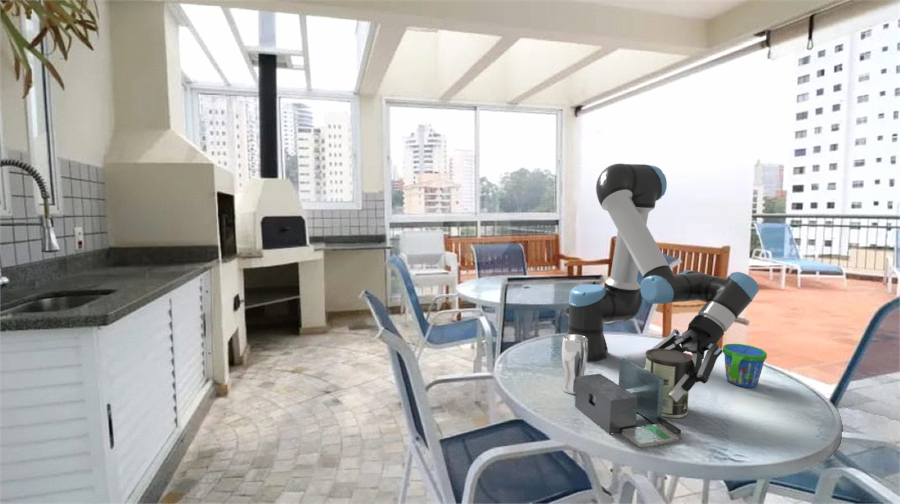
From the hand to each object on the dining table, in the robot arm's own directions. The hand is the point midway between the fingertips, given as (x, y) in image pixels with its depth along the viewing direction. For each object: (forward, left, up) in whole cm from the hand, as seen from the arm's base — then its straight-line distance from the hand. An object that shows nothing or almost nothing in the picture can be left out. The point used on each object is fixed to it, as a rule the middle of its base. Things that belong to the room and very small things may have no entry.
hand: (656, 389), depth 110 cm
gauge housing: (+3, -12, -5) cm, 13 cm away
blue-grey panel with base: (+3, -11, -5) cm, 13 cm away
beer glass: (-16, -13, -6) cm, 22 cm away
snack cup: (-7, +37, -6) cm, 38 cm away
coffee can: (0, +3, -6) cm, 6 cm away
